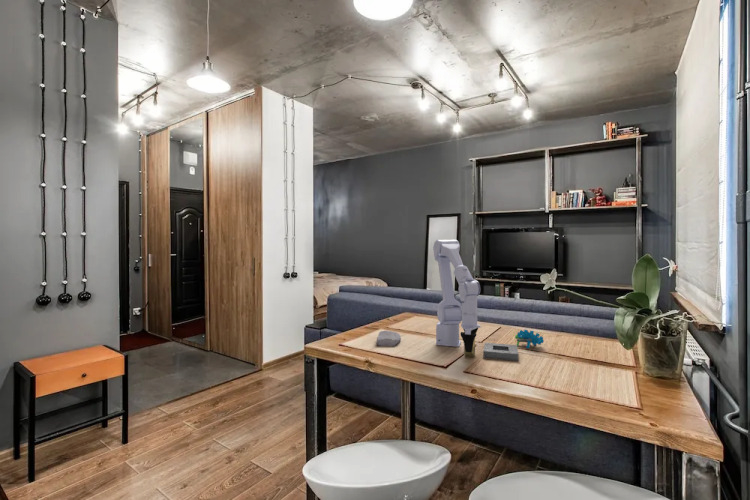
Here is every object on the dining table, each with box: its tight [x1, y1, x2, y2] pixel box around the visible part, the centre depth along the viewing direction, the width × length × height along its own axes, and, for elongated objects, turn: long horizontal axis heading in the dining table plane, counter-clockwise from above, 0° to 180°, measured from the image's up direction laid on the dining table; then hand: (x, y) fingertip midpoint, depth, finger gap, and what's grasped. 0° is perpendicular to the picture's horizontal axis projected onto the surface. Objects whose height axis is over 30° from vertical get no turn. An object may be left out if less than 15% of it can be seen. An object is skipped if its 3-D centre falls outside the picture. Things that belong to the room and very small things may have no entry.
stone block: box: [376, 330, 402, 347], centre depth 155 cm, size 12×5×10 cm
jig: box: [482, 342, 519, 362], centre depth 136 cm, size 12×12×2 cm
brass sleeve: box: [463, 338, 476, 359], centre depth 135 cm, size 4×4×7 cm
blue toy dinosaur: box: [514, 329, 545, 350], centre depth 145 cm, size 11×6×10 cm
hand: (469, 349), depth 135 cm, fingers open, 7 cm apart
